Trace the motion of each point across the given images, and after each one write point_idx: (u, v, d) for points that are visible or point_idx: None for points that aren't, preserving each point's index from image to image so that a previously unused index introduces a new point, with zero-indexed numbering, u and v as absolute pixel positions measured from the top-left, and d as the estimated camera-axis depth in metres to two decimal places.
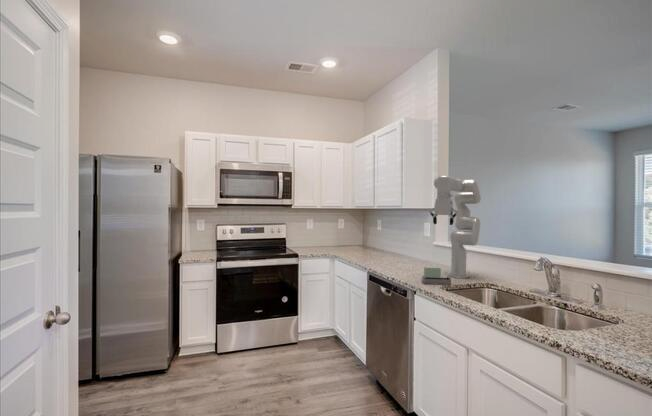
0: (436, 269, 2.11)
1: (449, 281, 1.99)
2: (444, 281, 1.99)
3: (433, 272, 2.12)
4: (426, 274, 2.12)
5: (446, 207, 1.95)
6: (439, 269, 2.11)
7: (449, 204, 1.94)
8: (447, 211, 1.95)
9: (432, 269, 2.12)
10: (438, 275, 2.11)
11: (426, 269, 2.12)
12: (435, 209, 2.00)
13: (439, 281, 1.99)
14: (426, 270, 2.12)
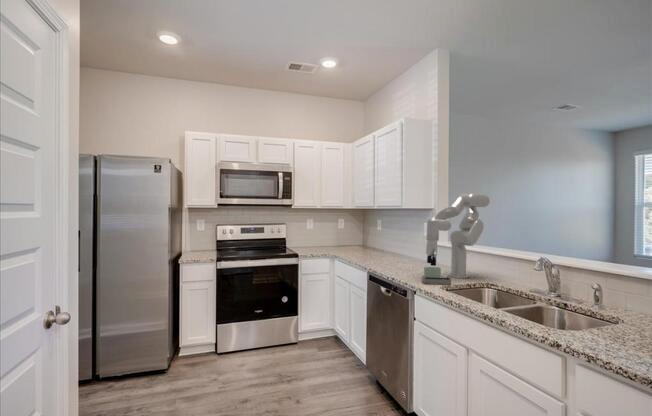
0: (436, 269, 2.11)
1: (449, 281, 1.99)
2: (444, 281, 1.99)
3: (433, 272, 2.12)
4: (426, 274, 2.12)
5: None
6: (439, 269, 2.11)
7: None
8: None
9: (432, 269, 2.12)
10: (438, 275, 2.11)
11: (426, 269, 2.12)
12: (436, 251, 2.08)
13: (439, 281, 1.99)
14: (426, 270, 2.12)
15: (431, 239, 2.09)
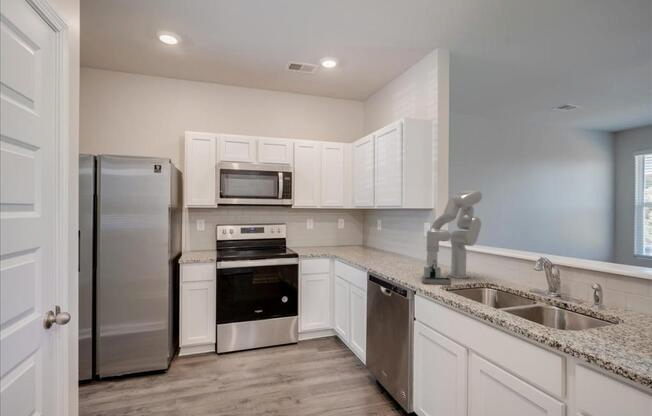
0: (436, 269, 2.11)
1: (449, 281, 1.99)
2: (444, 281, 1.99)
3: None
4: (426, 274, 2.12)
5: None
6: (439, 269, 2.11)
7: None
8: None
9: None
10: (438, 275, 2.11)
11: (426, 269, 2.12)
12: None
13: (439, 281, 1.99)
14: (426, 270, 2.12)
15: (431, 250, 2.10)
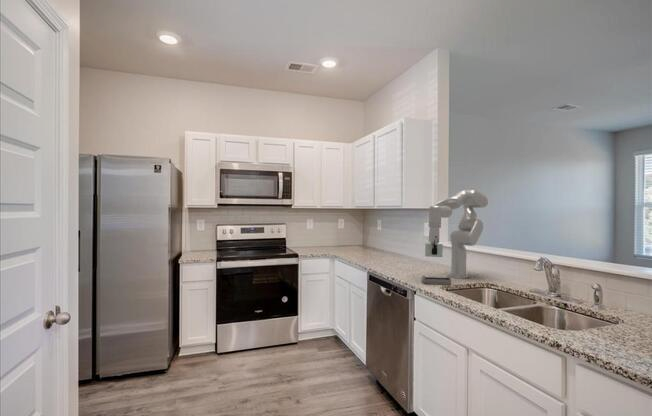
0: (438, 245, 2.07)
1: (449, 281, 1.99)
2: (444, 281, 1.99)
3: None
4: (427, 250, 2.07)
5: None
6: (441, 245, 2.06)
7: None
8: None
9: None
10: (440, 252, 2.06)
11: (427, 245, 2.07)
12: None
13: (439, 281, 1.99)
14: (427, 246, 2.07)
15: (433, 226, 2.05)
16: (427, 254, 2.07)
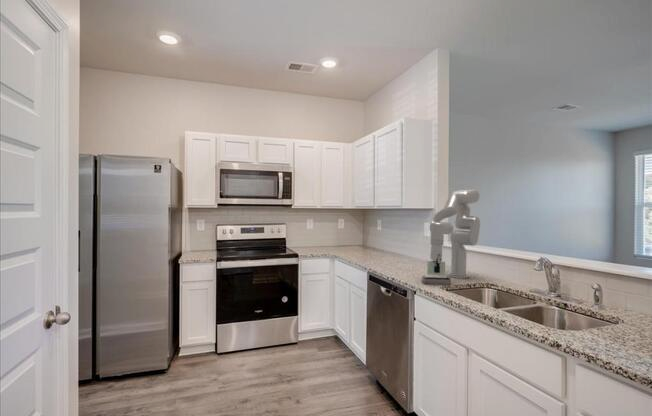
0: (440, 263, 2.01)
1: (449, 281, 1.99)
2: (444, 281, 1.99)
3: None
4: (430, 268, 2.01)
5: None
6: (443, 263, 2.01)
7: None
8: None
9: None
10: (442, 270, 2.01)
11: (430, 263, 2.01)
12: (441, 256, 1.98)
13: (439, 281, 1.99)
14: (430, 264, 2.01)
15: (435, 244, 1.99)
16: (429, 272, 2.01)
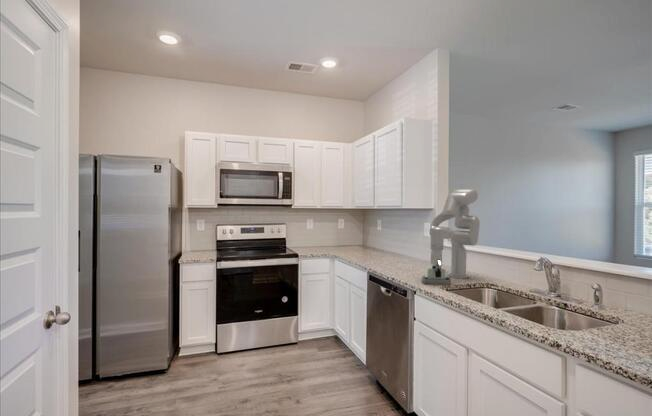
0: None
1: (449, 281, 1.99)
2: (444, 281, 1.99)
3: None
4: (430, 276, 2.02)
5: None
6: (444, 271, 2.01)
7: None
8: None
9: None
10: (443, 277, 2.01)
11: (430, 271, 2.01)
12: (441, 261, 1.98)
13: (439, 281, 1.99)
14: (430, 272, 2.01)
15: (435, 249, 1.99)
16: None
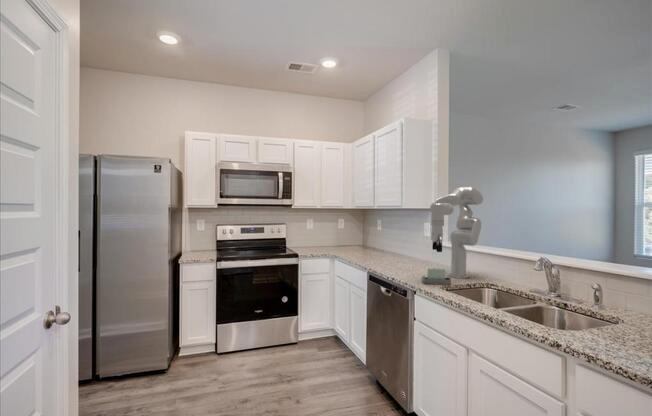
0: (440, 271, 2.01)
1: (449, 281, 1.99)
2: (444, 281, 1.99)
3: (437, 274, 2.01)
4: (430, 276, 2.02)
5: None
6: (444, 271, 2.01)
7: None
8: None
9: (436, 271, 2.01)
10: (443, 277, 2.01)
11: (430, 271, 2.01)
12: (442, 236, 1.98)
13: (439, 281, 1.99)
14: (430, 272, 2.01)
15: (436, 224, 1.99)
16: None
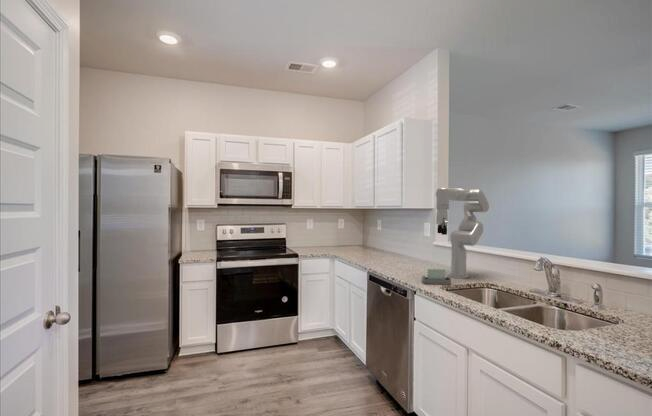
0: (440, 271, 2.01)
1: (449, 281, 1.99)
2: (444, 281, 1.99)
3: (437, 274, 2.01)
4: (430, 276, 2.02)
5: None
6: (444, 271, 2.01)
7: None
8: None
9: (436, 271, 2.01)
10: (443, 277, 2.01)
11: (430, 271, 2.01)
12: (447, 220, 2.05)
13: (439, 281, 1.99)
14: (430, 272, 2.01)
15: (441, 208, 2.06)
16: None
